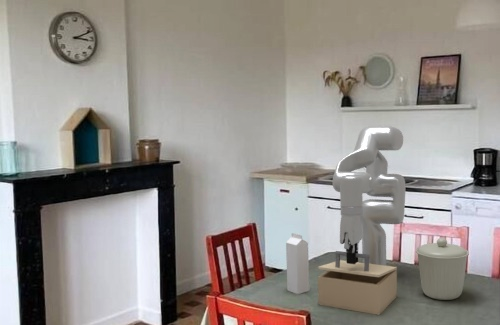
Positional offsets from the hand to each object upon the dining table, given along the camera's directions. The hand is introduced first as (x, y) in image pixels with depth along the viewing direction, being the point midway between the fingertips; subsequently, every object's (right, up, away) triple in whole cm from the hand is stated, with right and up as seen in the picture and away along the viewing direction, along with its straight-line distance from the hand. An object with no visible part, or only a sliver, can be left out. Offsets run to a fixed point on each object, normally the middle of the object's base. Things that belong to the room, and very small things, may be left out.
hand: (352, 262), depth 191 cm
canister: (+34, -14, +8) cm, 37 cm away
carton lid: (+3, -3, +5) cm, 6 cm away
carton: (+3, -15, +6) cm, 16 cm away
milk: (-17, -14, +18) cm, 29 cm away
